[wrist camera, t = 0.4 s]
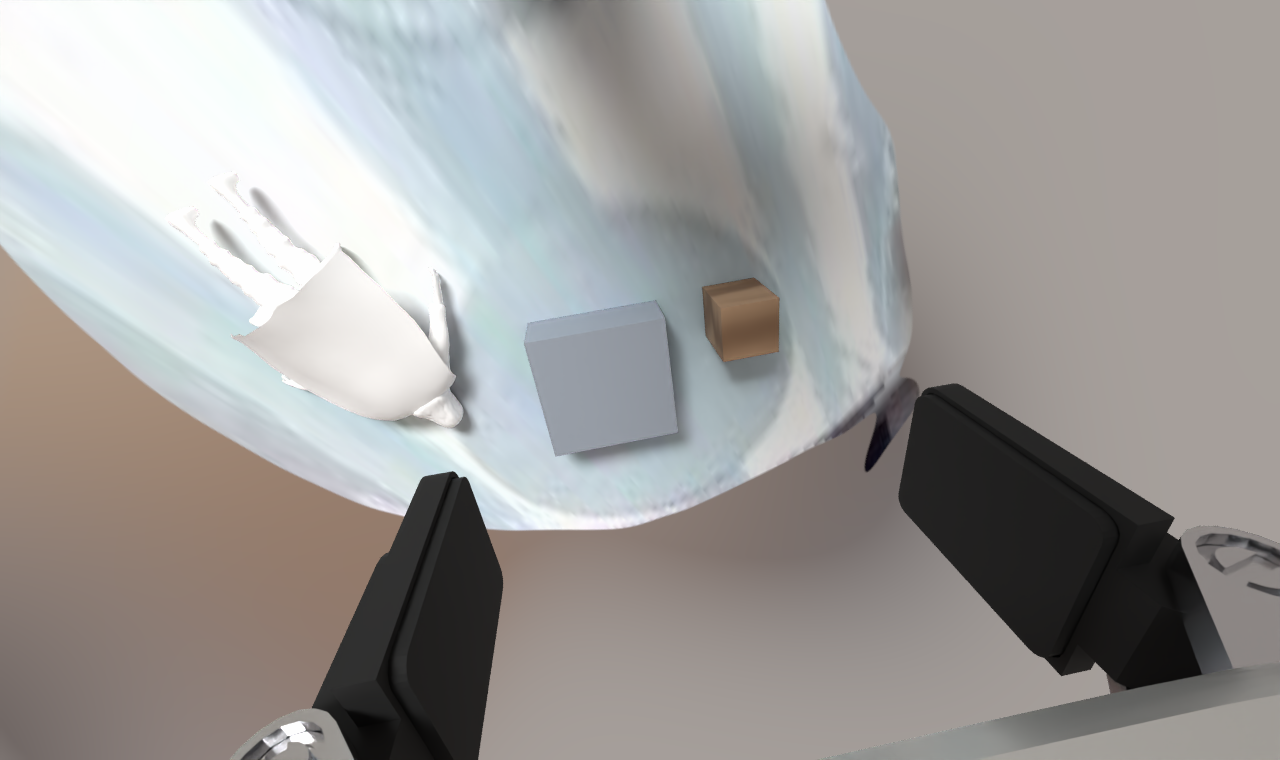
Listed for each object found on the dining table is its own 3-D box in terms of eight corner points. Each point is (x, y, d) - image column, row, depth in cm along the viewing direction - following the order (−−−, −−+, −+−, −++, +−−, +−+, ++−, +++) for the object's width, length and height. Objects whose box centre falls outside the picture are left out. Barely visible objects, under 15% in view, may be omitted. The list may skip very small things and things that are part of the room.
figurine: (145, 253, 36) (397, 454, 48) (39, 289, 29) (368, 515, 41) (305, 119, 34) (529, 367, 46) (235, 120, 26) (523, 415, 39)
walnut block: (702, 286, 44) (720, 308, 39) (753, 277, 44) (779, 297, 39) (705, 335, 46) (723, 362, 41) (754, 326, 47) (778, 351, 41)
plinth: (528, 321, 43) (523, 343, 39) (655, 299, 44) (665, 318, 40) (556, 427, 49) (555, 456, 45) (668, 405, 50) (678, 432, 46)
